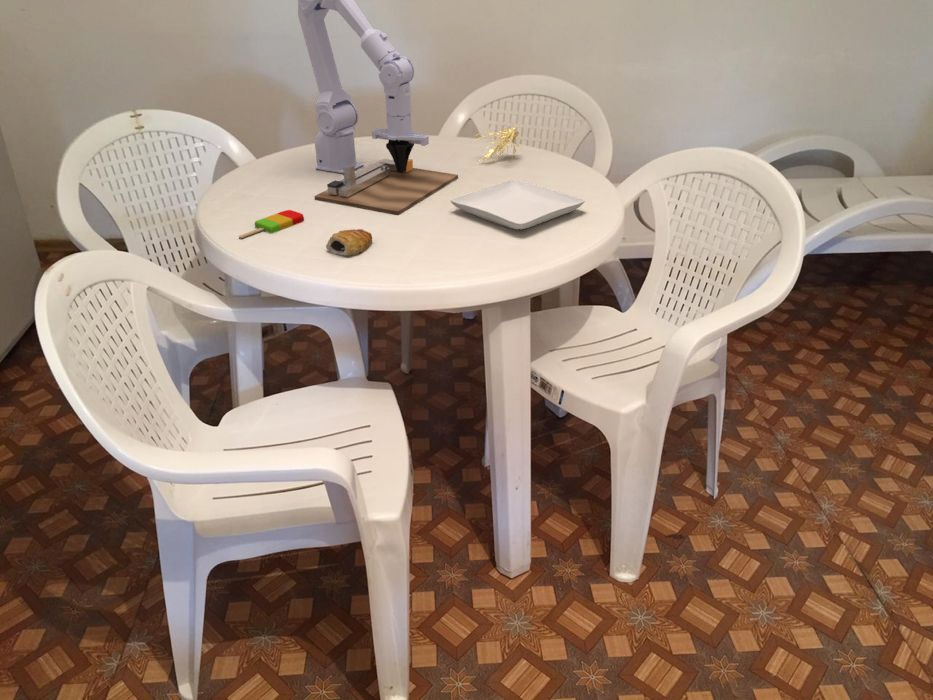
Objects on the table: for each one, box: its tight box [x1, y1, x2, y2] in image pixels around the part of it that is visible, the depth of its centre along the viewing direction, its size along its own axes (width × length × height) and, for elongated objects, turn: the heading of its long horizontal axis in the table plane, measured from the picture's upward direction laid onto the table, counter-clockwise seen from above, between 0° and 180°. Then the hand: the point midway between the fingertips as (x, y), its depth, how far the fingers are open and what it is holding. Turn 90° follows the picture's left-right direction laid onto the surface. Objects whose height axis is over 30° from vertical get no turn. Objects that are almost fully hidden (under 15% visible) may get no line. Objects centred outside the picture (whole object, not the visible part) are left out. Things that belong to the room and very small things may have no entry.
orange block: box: [405, 158, 414, 172], centre depth 177 cm, size 3×2×2 cm
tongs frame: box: [326, 158, 397, 195], centre depth 171 cm, size 24×5×2 cm, turn 153°
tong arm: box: [339, 165, 390, 197], centre depth 167 cm, size 18×2×6 cm, turn 153°
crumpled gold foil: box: [471, 123, 523, 164], centre depth 186 cm, size 11×15×9 cm
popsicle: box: [238, 209, 305, 239], centre depth 148 cm, size 6×15×2 cm, turn 142°
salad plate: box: [450, 178, 586, 230], centre depth 155 cm, size 21×21×3 cm
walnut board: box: [313, 167, 459, 216], centre depth 169 cm, size 28×22×1 cm
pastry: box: [325, 228, 373, 257], centre depth 139 cm, size 9×7×4 cm
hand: (401, 171), depth 175 cm, fingers closed, pressing on orange block
